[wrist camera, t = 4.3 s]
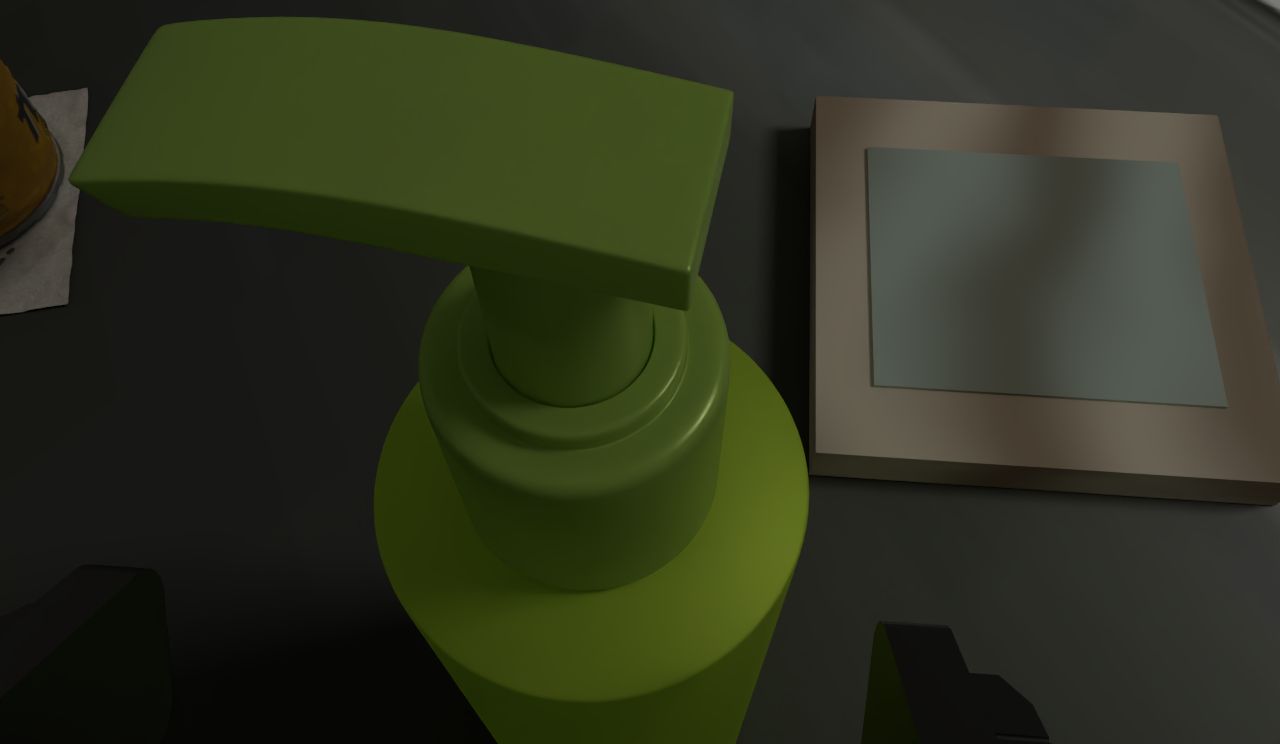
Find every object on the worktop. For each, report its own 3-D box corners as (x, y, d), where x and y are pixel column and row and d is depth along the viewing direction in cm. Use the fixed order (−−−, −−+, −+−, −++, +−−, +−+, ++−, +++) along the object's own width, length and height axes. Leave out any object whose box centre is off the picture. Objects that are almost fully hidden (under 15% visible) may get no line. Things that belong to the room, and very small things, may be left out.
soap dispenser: (495, 547, 28) (223, -162, 10) (761, 603, 27) (949, -64, 10) (424, 784, 25) (-102, 357, 8) (718, 854, 24) (871, 554, 7)
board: (1197, 146, 34) (1219, 112, 33) (1274, 505, 28) (1304, 482, 27) (810, 126, 35) (816, 93, 33) (809, 474, 29) (816, 450, 28)
